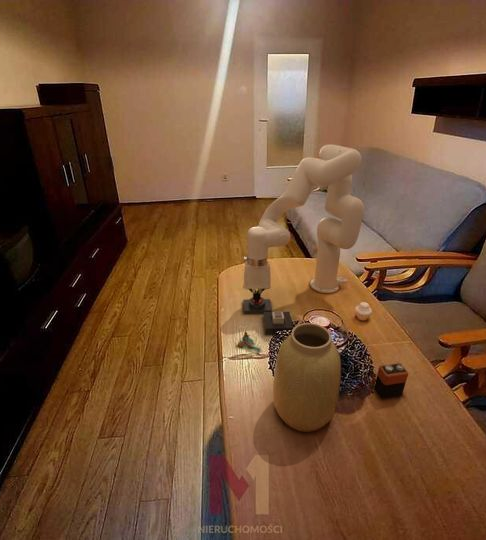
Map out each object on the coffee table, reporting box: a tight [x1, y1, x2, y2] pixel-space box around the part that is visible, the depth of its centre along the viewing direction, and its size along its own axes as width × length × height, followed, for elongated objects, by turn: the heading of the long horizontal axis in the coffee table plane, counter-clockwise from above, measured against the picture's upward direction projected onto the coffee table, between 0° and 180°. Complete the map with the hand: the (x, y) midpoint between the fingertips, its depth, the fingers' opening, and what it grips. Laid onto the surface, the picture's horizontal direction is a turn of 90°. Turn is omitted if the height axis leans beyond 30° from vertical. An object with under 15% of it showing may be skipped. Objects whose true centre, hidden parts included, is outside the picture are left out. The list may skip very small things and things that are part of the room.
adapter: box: [262, 311, 294, 336], centre depth 129 cm, size 10×10×3 cm
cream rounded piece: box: [354, 301, 373, 321], centre depth 132 cm, size 6×6×7 cm
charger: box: [272, 310, 284, 324], centre depth 129 cm, size 4×4×6 cm
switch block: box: [242, 296, 273, 315], centre depth 140 cm, size 11×8×4 cm
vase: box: [272, 322, 342, 433], centre depth 90 cm, size 17×17×27 cm
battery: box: [373, 362, 409, 399], centre depth 100 cm, size 4×7×10 cm, turn 100°
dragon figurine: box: [236, 330, 260, 355], centre depth 120 cm, size 6×7×8 cm
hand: (256, 300), depth 139 cm, fingers closed
